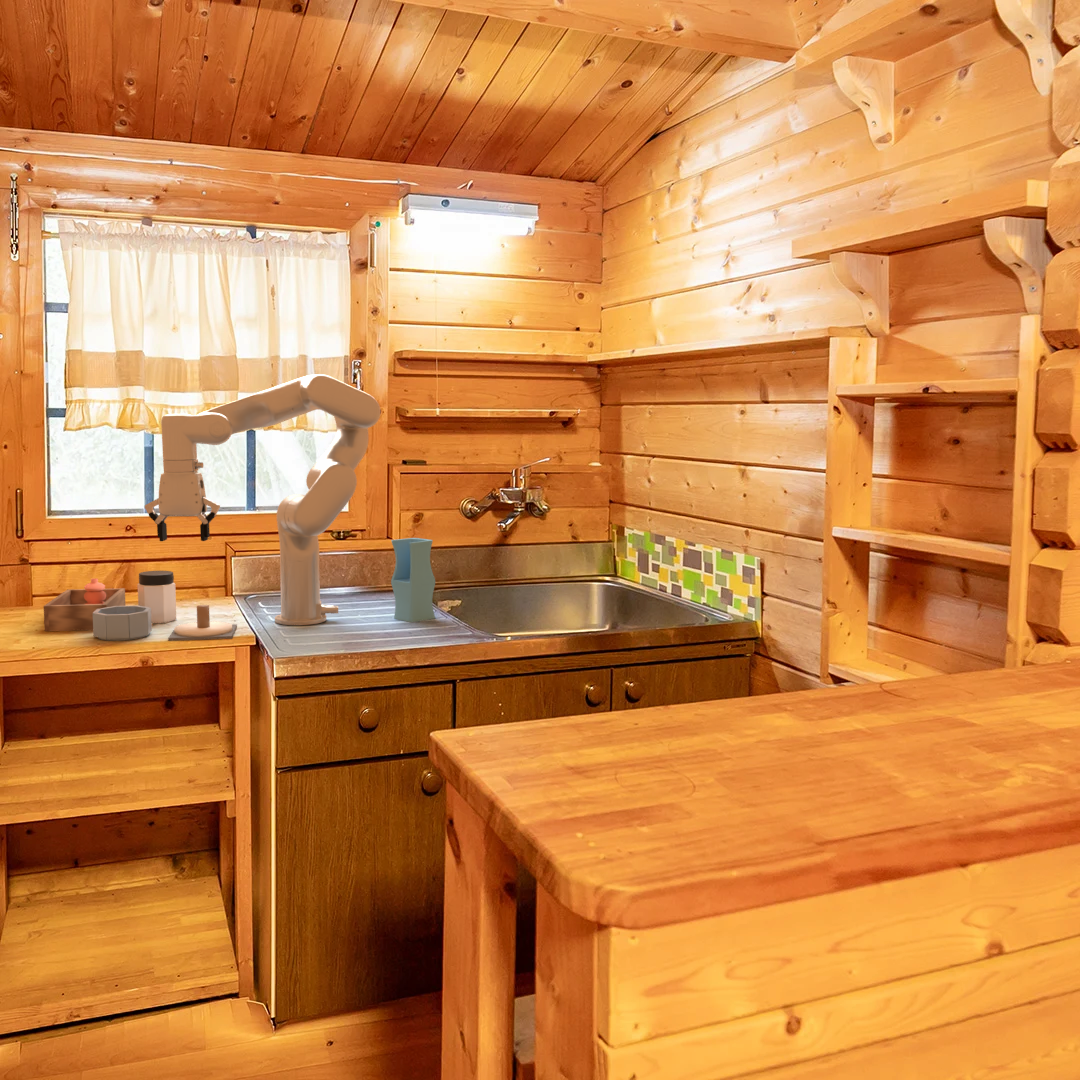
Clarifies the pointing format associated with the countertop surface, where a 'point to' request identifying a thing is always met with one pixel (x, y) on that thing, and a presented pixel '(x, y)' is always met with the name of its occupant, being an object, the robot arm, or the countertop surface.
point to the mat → (222, 636)
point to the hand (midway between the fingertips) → (183, 540)
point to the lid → (203, 625)
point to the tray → (77, 609)
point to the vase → (413, 580)
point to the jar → (158, 595)
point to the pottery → (94, 592)
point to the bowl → (122, 622)
